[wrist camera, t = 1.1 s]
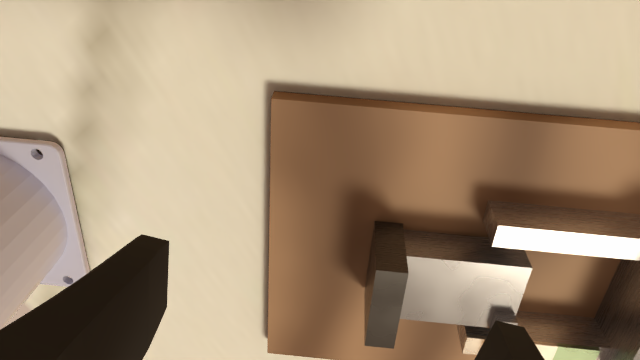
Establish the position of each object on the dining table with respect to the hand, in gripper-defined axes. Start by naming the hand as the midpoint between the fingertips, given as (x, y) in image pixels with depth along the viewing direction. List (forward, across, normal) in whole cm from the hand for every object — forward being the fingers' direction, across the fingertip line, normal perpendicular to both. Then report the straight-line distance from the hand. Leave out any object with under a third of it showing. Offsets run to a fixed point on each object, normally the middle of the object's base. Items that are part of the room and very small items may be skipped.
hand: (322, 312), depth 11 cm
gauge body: (+10, -10, +5) cm, 15 cm away
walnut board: (+11, -6, +6) cm, 14 cm away
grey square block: (+10, -5, +7) cm, 13 cm away
